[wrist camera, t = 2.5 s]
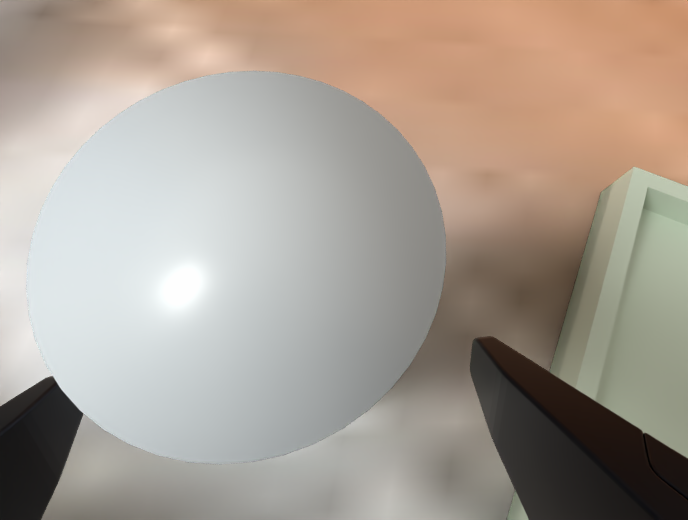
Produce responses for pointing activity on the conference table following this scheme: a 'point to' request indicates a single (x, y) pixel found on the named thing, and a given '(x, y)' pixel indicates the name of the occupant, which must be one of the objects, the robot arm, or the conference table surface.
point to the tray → (632, 310)
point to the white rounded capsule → (236, 267)
